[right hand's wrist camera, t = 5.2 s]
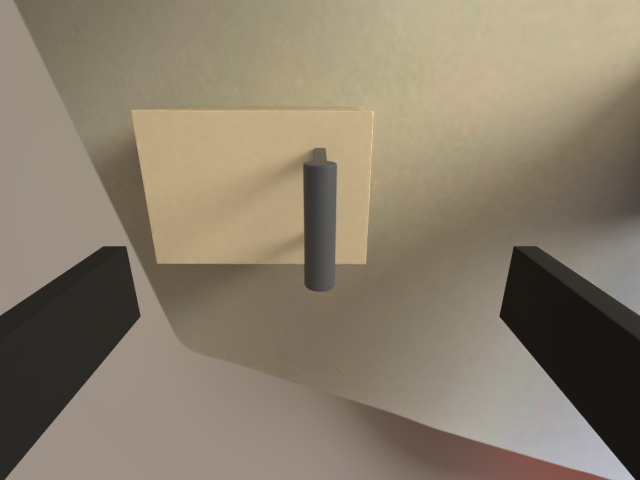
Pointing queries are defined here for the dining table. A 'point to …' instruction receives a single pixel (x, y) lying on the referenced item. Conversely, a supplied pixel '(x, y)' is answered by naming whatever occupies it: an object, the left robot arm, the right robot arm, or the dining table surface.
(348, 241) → the lid
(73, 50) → the dining table surface
